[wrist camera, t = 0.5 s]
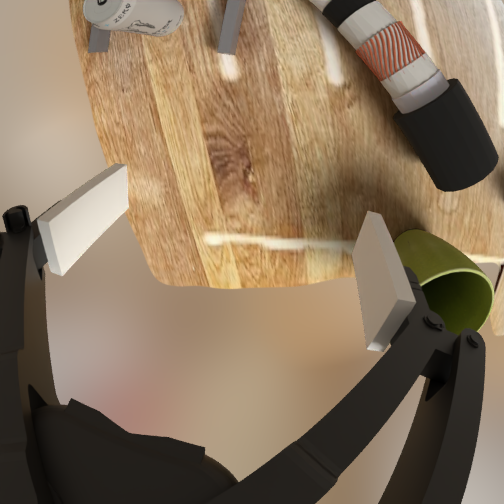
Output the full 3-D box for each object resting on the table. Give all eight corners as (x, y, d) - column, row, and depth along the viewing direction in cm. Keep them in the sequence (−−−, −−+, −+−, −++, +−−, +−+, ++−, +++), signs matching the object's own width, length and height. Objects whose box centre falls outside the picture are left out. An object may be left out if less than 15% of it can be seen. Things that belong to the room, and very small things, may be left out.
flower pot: (393, 190, 39) (432, 252, 25) (466, 224, 39) (513, 287, 26) (353, 271, 47) (365, 348, 34) (423, 293, 47) (448, 363, 34)
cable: (305, -32, 26) (327, -75, 16) (457, 149, 34) (508, 145, 24) (250, -9, 27) (263, -59, 17) (421, 190, 34) (476, 193, 24)
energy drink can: (148, 41, 32) (79, 37, 19) (144, 5, 28) (77, -11, 16) (188, 31, 31) (130, 16, 18) (184, -6, 27) (127, -34, 15)
